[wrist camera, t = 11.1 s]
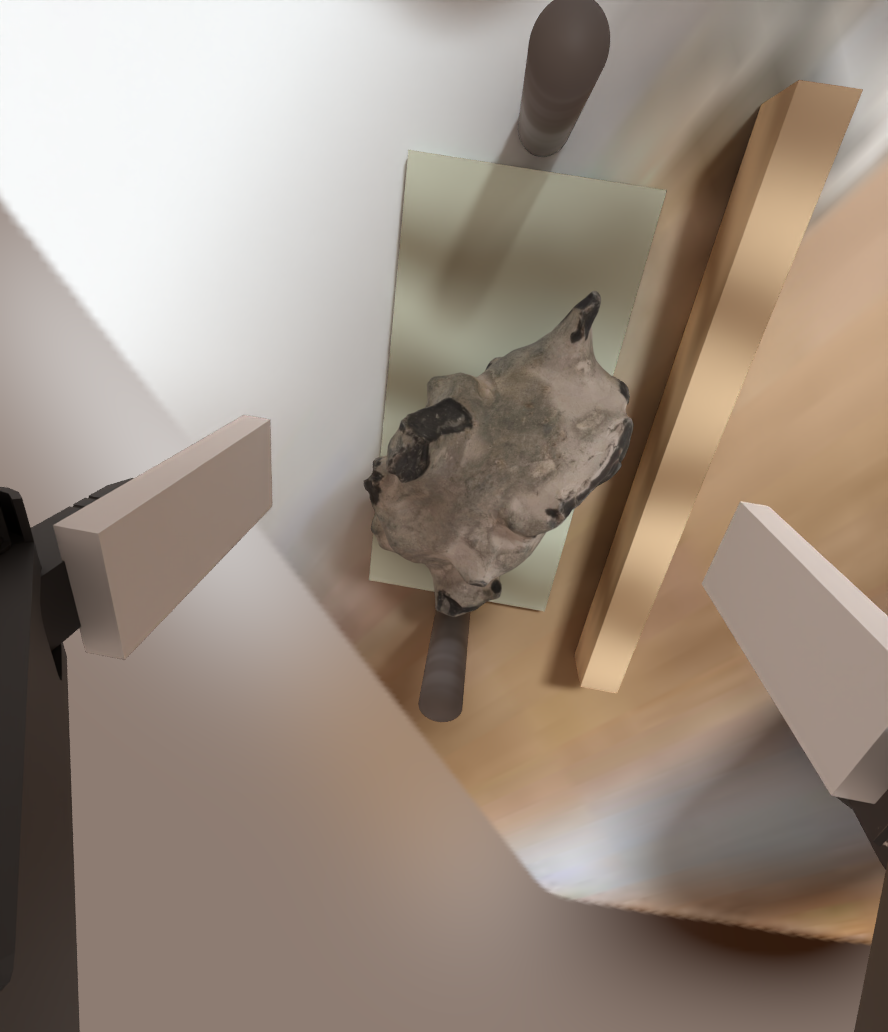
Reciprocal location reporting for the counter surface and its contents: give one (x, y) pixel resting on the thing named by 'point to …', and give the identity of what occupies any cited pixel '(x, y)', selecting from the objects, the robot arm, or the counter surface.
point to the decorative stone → (500, 461)
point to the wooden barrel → (872, 822)
